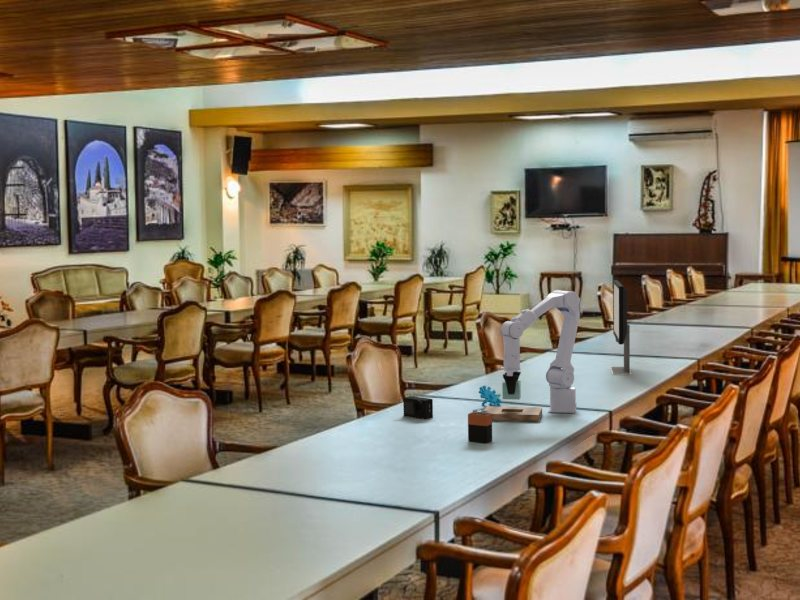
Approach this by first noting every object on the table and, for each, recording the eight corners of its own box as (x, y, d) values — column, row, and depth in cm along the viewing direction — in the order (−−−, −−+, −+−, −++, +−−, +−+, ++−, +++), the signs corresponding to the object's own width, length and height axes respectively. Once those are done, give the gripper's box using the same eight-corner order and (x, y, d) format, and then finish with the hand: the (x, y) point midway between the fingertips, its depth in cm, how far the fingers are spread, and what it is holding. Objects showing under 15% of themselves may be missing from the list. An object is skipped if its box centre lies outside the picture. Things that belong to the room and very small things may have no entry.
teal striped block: (520, 397, 376) (520, 380, 375) (519, 399, 372) (519, 382, 371) (503, 397, 377) (503, 380, 376) (502, 399, 373) (502, 381, 372)
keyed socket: (542, 414, 379) (542, 407, 379) (538, 422, 366) (538, 414, 366) (486, 413, 384) (486, 406, 384) (481, 420, 370) (481, 413, 370)
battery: (486, 443, 333) (486, 412, 333) (467, 441, 337) (467, 410, 336) (492, 441, 337) (492, 410, 336) (474, 439, 341) (473, 408, 340)
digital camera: (401, 417, 380) (400, 397, 379) (410, 414, 384) (410, 395, 383) (423, 420, 373) (422, 400, 373) (432, 417, 377) (432, 398, 377)
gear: (488, 405, 390) (476, 384, 396) (479, 414, 393) (467, 393, 399) (508, 405, 398) (496, 384, 403) (499, 414, 401) (487, 394, 406)
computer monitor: (608, 364, 497) (608, 280, 493) (626, 364, 496) (626, 279, 492) (613, 378, 456) (613, 286, 453) (633, 378, 455) (633, 286, 452)
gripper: (502, 352, 381) (503, 389, 382) (497, 357, 367) (498, 396, 368) (522, 352, 379) (522, 389, 381) (518, 358, 365) (518, 396, 366)
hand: (512, 393), depth 374 cm, fingers closed on teal striped block, 4 cm apart
